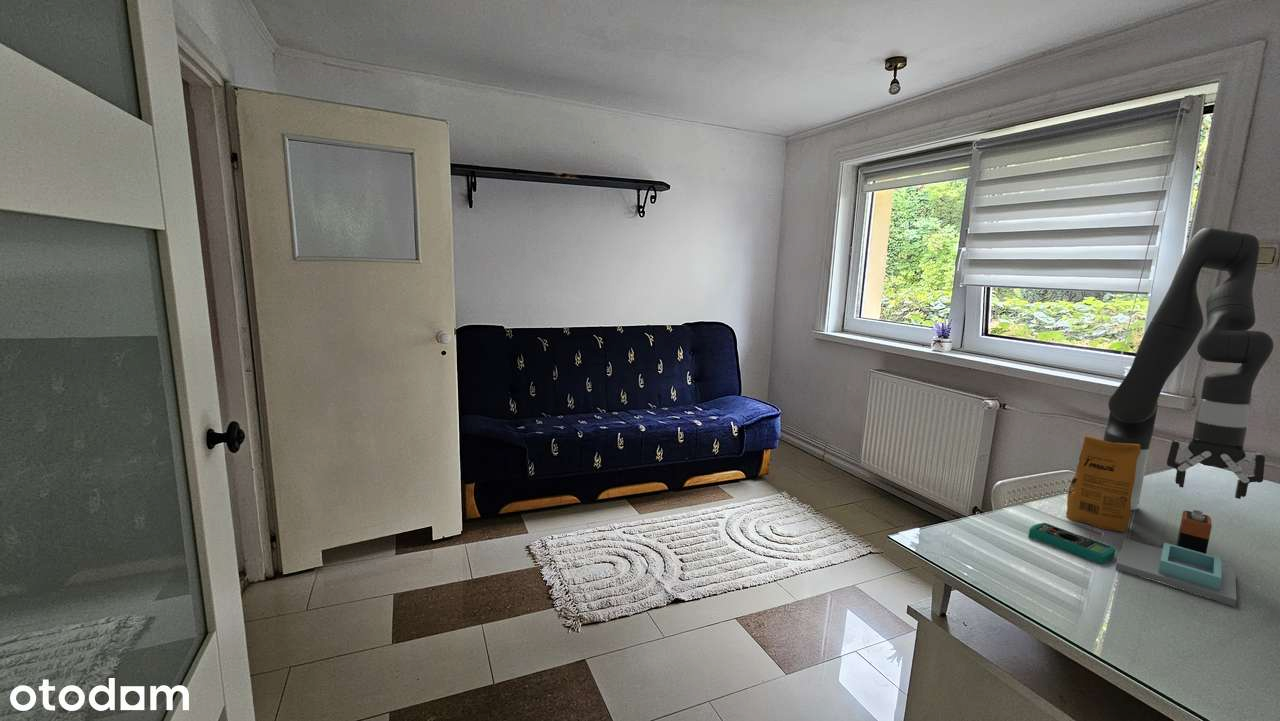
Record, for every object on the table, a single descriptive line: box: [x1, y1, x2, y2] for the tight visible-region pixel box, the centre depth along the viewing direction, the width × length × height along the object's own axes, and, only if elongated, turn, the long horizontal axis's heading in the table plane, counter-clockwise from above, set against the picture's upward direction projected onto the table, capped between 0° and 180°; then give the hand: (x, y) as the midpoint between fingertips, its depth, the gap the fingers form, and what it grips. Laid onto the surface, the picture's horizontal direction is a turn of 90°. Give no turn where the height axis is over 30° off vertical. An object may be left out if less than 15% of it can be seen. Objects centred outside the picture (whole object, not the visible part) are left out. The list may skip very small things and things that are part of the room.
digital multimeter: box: [1028, 522, 1116, 565], centre depth 120 cm, size 7×15×3 cm, turn 30°
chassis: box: [1115, 538, 1238, 608], centre depth 110 cm, size 17×16×4 cm
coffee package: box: [1065, 435, 1141, 533], centre depth 132 cm, size 10×12×22 cm
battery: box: [1176, 509, 1213, 554], centre depth 117 cm, size 4×7×10 cm, turn 134°
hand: (1208, 491), depth 115 cm, fingers open, 8 cm apart
